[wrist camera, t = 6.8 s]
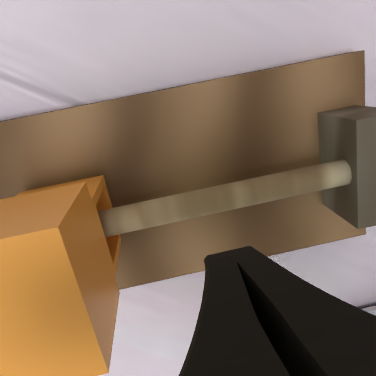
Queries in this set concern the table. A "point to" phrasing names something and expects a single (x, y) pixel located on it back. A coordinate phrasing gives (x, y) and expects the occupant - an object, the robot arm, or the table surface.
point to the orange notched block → (57, 281)
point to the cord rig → (213, 164)
